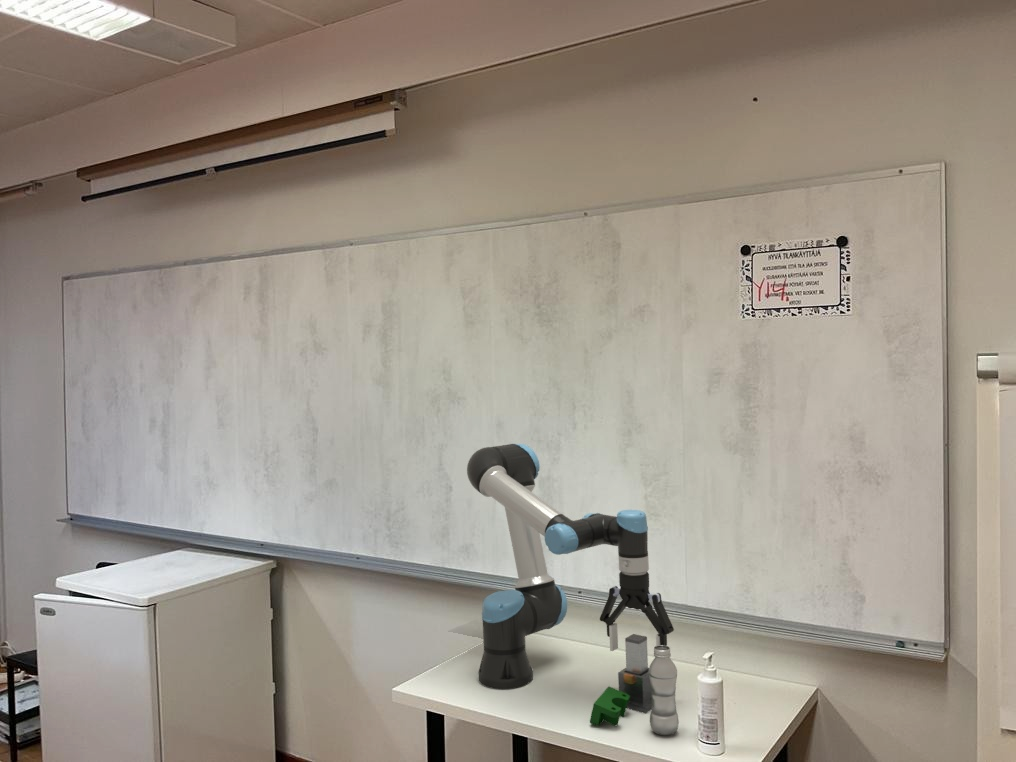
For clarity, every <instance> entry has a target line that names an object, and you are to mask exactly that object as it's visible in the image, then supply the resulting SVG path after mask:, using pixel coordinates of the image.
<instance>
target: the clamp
mask: <svg viewBox="0 0 1016 762" xmlns="http://www.w3.org/2000/svg"><path fill="white" fill-rule="evenodd" d="M629 698H630V696H629V695H628V694H626V693H624V692H621V691H619V689H617V688H615V687H611V686H608V687H606V689H605V690H604V691H603V692H602V693H601V695H599V697H598V698H597V699H596V700H595V701H594V703H593V705H592V709H591V710H592V711H591V714H590V719H589V724H591V725H594V726H596V727H598V726H600V725H601V724H602V723H603V722H605V723H608V724H611V725H612V726H615V725H617V726H618V725H619V721H620V717H621V718H625V716H626V715H625V714H626V710H627V708H626V706H627V704H628V703H629ZM602 721H603V722H602Z"/></svg>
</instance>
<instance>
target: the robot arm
mask: <svg viewBox="0 0 1016 762" xmlns="http://www.w3.org/2000/svg"><path fill="white" fill-rule="evenodd" d="M467 462H468V463H467V466H466V476H467V478H468V481H469V483H470V484H471V486H472V487H473V488H474V489H475V490H476V491H477V492H479V494H481V495H483V496H484V497H487V498H492V499H493V500H495V501H497V502H498V503H499V504H500V505H502V507H504V510H505V516H506V520H507V525H508V531H509V536H510V541H511V542H510V543H511V547H512V553H513V557H514V562H515V568H516V572H517V573H516V574H517V577H518V580H517V583H515V585H514V589H506V590H499V591H496V592H493V593H490V594H489V595H487V596H486V597H485V598H484V600H483V602H482V612H481V618H482V620H481V621H482V634H483V636H482V639H483V641H482V642H483V654H482V657H481V661H480V665H479V668H478V673H477V675H478V678H477V679H478V682H479V684H481V685H482V686H483V687H487V688H491V689H495V690H511V689H517V688H522V687H524V686H526V685H528V684H529V683H531V682H532V681H533V678H534V675H533V674H534V672H533V668H532V666H531V663H530V660H529V657H528V654H527V650H526V636H530V635H533V634H536V633H539V632H542V631H545V630H550V629H552V628H553V627H555V626H557V625H559V624H561V623H562V622H563V621H564V618H565V617H566V616H567V612H568V599H567V595H566V592H565V591H564V590H563V588H562V587H561V586H560V585H558V584H556V583H555V579H554V577H552V576H551V575H550V574H549V573H548V569H547V563H546V559H545V553H544V549H543V544H542V539H541V536H543V537H544V543H545V545H546V547H547V548H548V551H550V552H551V553H552V554H554V555H557V556H558V555H559V556H560V555H569V554H572V553H574V552H577V551H581V550H586V549H589V548H594V547H597V546H601V545H610V546H614V547H617V552H618V570H619V571H620V572H619V573H618V576H619V577H618V581H619V587H620V588H618V586H617V585H615V586H612V587H610V588H609V590H608V591H609V592H608V598H607V600H606V602H605V605H604V607H603V609H602V611H601V613H600V617H599V621H600V622H603V623H605V625H606V635H607V637H609V651H610V652H613V651H616V650H618V649H619V639H618V638H619V636H618V635H619V634H618V623H617V622H616V621H617V619H618V618H619V617H620V615H621V614H622V613H623V611H624V610H625V609H626V608H627V609H635V610H636V611H638V610H640V611H641V612H642V613H643V614H644V615H645V616H646V618H647V619H648V620H649V622H650V623H651V625H652V626H653V628H654V629H655V630H656V632H657V634H655V646H658V645H664V646H668V637H667V636H668V635H670V633H672V632H674V631H675V628H674V626H673V624H672V621H671V619H670V617H669V615H668V612H667V610H666V608H665V606H664V604H663V602H662V600H663V599H662V595H661V593H660V592H656V593H650V573H649V569H650V566H649V551H648V549H649V548H648V544H649V543H648V538H649V537H648V534H649V533H648V530H649V528H648V522H647V521H648V520H647V515H646V513H645V511H644V510H640V509H622V510H619V511H618V512H617V514H616V516H615V515H609V514H608V515H607V514H603V513H598V512H597V513H593V512H590V513H586V514H585V515H584V516H582V518H580V519H576V520H571V518H569V517H568V516H566V515H564V514H563V513H562V512H561V511H559V510H557V508H555V507H553V506H552V505H550V504H549V503H548V502H546V501H545V500H544V499H542V498H540V497H539V496H538V495H537V494H535V493H534V492H533V490H534V489H535V487H536V482H535V480H536V479H537V477H538V476H539V472H540V470H541V469H540V460H539V458H538V456H537V454H536V452H535V451H534V450H533V448H531V447H530V446H528V445H527V444H525V443H509V444H503V445H495V446H486V447H482V448H480V449H478V450H476V451H475V452H474V453H473V454H472V455H471V456H470V458H469V460H468V461H467ZM618 596H619V597H620V598H621V601H620V602H619V603H618V606H616V608H615V609H614V611H613V612H612V610H613V608H614V606H615V604H616V600H617V599H618Z"/></svg>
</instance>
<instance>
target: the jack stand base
mask: <svg viewBox="0 0 1016 762" xmlns="http://www.w3.org/2000/svg"><path fill="white" fill-rule="evenodd" d="M617 676H618V677H617V678H618V680H617V681H618V690H619V691H621V692H624V693H626V694H628V695H629V696H630V698H629V703H628V704H627V706H626V709H627V708H629V710H631V709H632V711H635V712H638V711H639V713H642V712H643V714H648V711H649V712H651V706H652V691H651V682H650V676H649V667H648V672H647V673H645V674H643V675H642V676H638V675H634V674H630V673H626V667H625V668H623V669H621V670H620V671H618V673H617Z"/></svg>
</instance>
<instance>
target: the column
mask: <svg viewBox="0 0 1016 762" xmlns="http://www.w3.org/2000/svg"><path fill="white" fill-rule="evenodd" d="M624 639H625V640H624V641H625V665H626V666H625V668H626V673H630V674H634V675H638V676H642V675H643V674H645V673H647V672H648V668H649V663H648V661H649V660H648V659H649V657H648V655H649V653H648V637H647V635H646V636H645V635H641V634H637V633H633V634H631V635H629V636H627V637H625V638H624Z"/></svg>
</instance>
